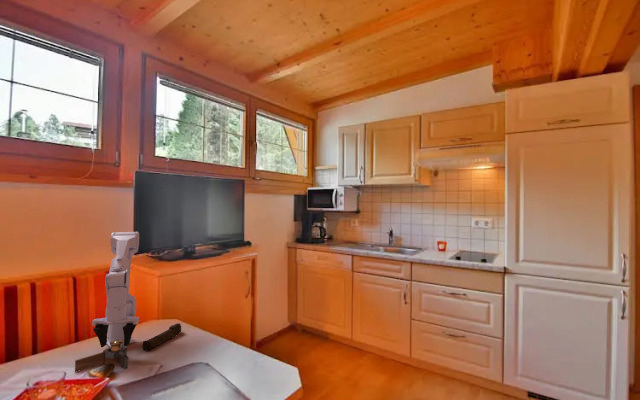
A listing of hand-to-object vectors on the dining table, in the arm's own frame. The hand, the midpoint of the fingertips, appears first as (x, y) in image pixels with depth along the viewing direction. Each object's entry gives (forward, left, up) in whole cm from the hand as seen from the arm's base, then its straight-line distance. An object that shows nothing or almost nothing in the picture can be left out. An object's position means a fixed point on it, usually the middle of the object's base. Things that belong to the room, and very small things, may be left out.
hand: (115, 345), depth 106 cm
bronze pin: (0, 0, -5) cm, 5 cm away
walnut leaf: (0, -4, -5) cm, 6 cm away
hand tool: (-3, +18, -5) cm, 18 cm away
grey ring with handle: (+4, 0, -5) cm, 6 cm away
